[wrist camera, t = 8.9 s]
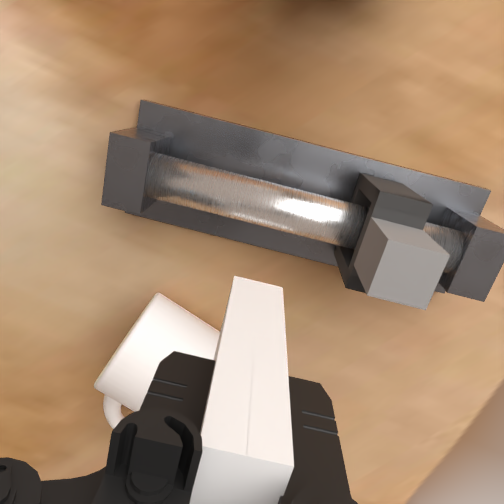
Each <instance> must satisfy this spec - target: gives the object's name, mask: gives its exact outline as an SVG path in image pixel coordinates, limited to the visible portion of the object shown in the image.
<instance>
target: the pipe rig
mask: <svg viewBox="0 0 504 504" xmlns="http://www.w3.org/2000/svg"><path fill="white" fill-rule="evenodd" d="M360 173H363V174H367V175H371V176H375V177H379V178H382V179H386V180H390V181H394V182H398V183H402V184H404V185H406V186H407V187H408V188H410V189H411V190H413V191H414V192H416V193H417V194H419V195H420V196H422V197H423V198H424V199H426V200H427V201H429V202H430V203H432V204H433V207H432V209H431V212H430V214H429V217H428V219H427V221H426V224H425V226H424V229H423V231H424V232H426V233H427V234H428V235H429V236H430V237H431V238H432V239H433V240H434V241H435V242H436V243H437V244H439V245H440V246H441V247H442V248H443V249H444V250H445V251H446V252H447V253H448V254H449V255H450V257H449V259H448V261H447V263H446V266H445V268H444V270H443V272H442V275H441V277H440V279H439V281H438V284H437V286H436V288H435V290H434V291H436V292H440V293H445V291H446V292H447V293H451V294H455V295H459V296H463V297H467V298H471V299H475V300H479V301H483V302H484V301H485V299H486V297H487V295H488V293H489V291H490V289H491V287H492V285H493V283H494V281H495V279H496V277H497V275H498V273H499V271H500V269H501V267H502V265H503V263H504V229H502V228H500V227H499V226H497V225H495V224H493V223H492V222H490V221H488V220H487V219H485V218H483V217H481V216H480V214H481V212H482V210H483V208H484V205H485V203H486V201H487V199H488V197H489V194H490V192H491V190H488V189H486V188H482V187H479V186H475V185H471V184H467V183H463V182H459V181H455V180H452V179H448V178H444V177H440V176H436V175H432V174H428V173H425V172H421V171H417V170H413V169H409V168H405V167H401V166H398V165H394V164H390V163H386V162H382V161H378V160H375V159H371V158H367V157H363V156H359V155H355V154H351V153H348V152H344V151H340V150H336V149H332V148H328V147H324V146H321V145H317V144H313V143H309V142H305V141H301V140H298V139H294V138H290V137H286V136H282V135H278V134H274V133H271V132H267V131H263V130H259V129H255V128H251V127H247V126H244V125H240V124H236V123H232V122H228V121H224V120H220V119H217V118H213V117H209V116H205V115H201V114H197V113H194V112H190V111H186V110H182V109H178V108H174V107H170V106H167V105H163V104H159V103H155V102H151V101H147V100H141V102H140V110H139V117H138V124H137V127H135V128H130V129H124V130H119V131H114V132H110V136H109V145H108V153H107V162H106V170H105V179H104V187H103V195H102V204H101V205H104V206H108V207H112V208H116V209H120V210H124V211H125V213H128V214H132V215H136V216H140V217H144V218H148V219H152V220H156V221H160V222H164V223H168V224H172V225H176V226H180V227H184V228H188V229H192V230H196V231H200V232H204V233H207V234H211V235H215V236H219V237H223V238H227V239H231V240H235V241H239V242H243V243H247V244H251V245H255V246H259V247H263V248H267V249H271V250H275V251H279V252H282V253H286V254H290V255H294V256H298V257H302V258H306V259H310V260H314V261H318V262H322V263H326V264H330V265H334V266H338V264H337V261H336V258H335V256H334V250H335V248H336V245H339V246H343V247H347V248H351V249H354V250H355V248H356V245H357V242H358V239H359V236H360V234H361V231H362V228H363V225H364V222H365V220H366V217H367V214H368V211H369V207H365V206H361V205H358V204H354V203H351V200H352V197H353V194H354V191H355V188H356V185H357V182H358V179H359V176H360Z"/></svg>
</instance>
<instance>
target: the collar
mask: <svg viewBox="0 0 504 504" xmlns="http://www.w3.org/2000/svg"><path fill="white" fill-rule="evenodd" d="M351 203H354V204H358V205H361V206H365V207H369V211H368V214H367V217H366V220H365V222H364V225H363V228H362V231H361V234H360V236H359V239H358V242H357V245H356V248H355V250H354V249H351V248H347V247H343V246H339V245H336V248H335V250H334V256H335V258H336V261H337V264H338V267H339V270H340V273H341V276H342V279H343V282H344V285H345V288H348V289H352V290H356V291H360V292H364V293H366V294H367V296H371V297H375V298H379V299H383V300H387V301H391V302H395V303H399V304H403V305H407V306H411V307H415V308H419V309H423V310H426V308H427V306H428V304H429V302H430V299H431V297H432V295H433V293H434V290H435V288H436V286H437V284H438V281H439V279H440V277H441V275H442V272H443V270H444V268H445V266H446V263H447V261H448V259H449V257H450V255H449V254H448V253H447V252H446V251H445V250H444V249H443V248H442V247H441V246H440V245H439V244H437V243H436V242H435V241H434V240H433V239H432V238H431V237H430V236H429V235H428V234H427V233H426V232H424V231H423V229H424V226H425V224H426V221H427V219H428V217H429V214H430V212H431V209H432V207H433V204H432V203H430V202H429V201H427V200H426V199H424V198H423V197H422V196H420V195H419V194H417V193H416V192H414V191H413V190H411V189H410V188H408V187H407V186H406V185H404V184H402V183H398V182H394V181H390V180H386V179H382V178H379V177H375V176H371V175H367V174H363V173H360V176H359V179H358V182H357V185H356V188H355V191H354V194H353V197H352V200H351Z"/></svg>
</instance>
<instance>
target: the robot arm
mask: <svg viewBox="0 0 504 504" xmlns="http://www.w3.org/2000/svg"><path fill="white" fill-rule="evenodd" d="M334 419H335V416H334V411H333V406H332V401H331V399H330V397H329V396H328V394H327V393H326V392H325V390H324V389H323V387H322V386H321V384H320V383H316V382H312V381H308V380H303V379H299V378H295V377H290V376H288V363H287V347H286V331H285V315H284V300H283V287H279V286H275V285H271V284H267V283H262V282H258V281H254V280H250V279H246V278H242V277H238V276H234V279H233V283H232V287H231V291H230V295H229V299H228V303H227V307H226V311H225V315H224V319H223V323H222V327H221V331H220V335H219V339H218V343H217V347H216V351H215V355H214V360H211V359H207V358H202V357H198V356H194V355H189V354H185V353H181V352H177V351H173V352H172V353H171V354H170V355H168V356H167V357H166V358H164V359H163V360H162V361H160V363H159V365H158V368H157V370H156V372H155V375H154V377H153V380H152V382H151V384H150V386H149V389H148V391H147V394H146V396H145V398H144V400H143V403H142V405H141V407H140V410H139V411H135V412H134V413H132V414H130V415H128V416H127V417H125V418H123V419H121V421H120V422H119V423H118V424H117V426H116V427H115V428H114V429H113V431H112V434H111V440H110V446H109V453H108V459H107V465H106V467H104V468H103V469H101V470H99V471H97V472H95V473H92V474H89V475H87V476H83V477H78V478H72V479H61V480H49V481H41V480H40V478H39V475H38V472H37V471H36V470H35V469H33V468H32V467H31V466H30V465H28V464H27V463H26V462H24V461H20V460H16V459H12V458H0V504H358V503H357V502H356V501H354V500H353V499H352V498H351V494H350V490H349V485H348V480H347V475H346V470H345V465H344V460H343V455H342V450H341V445H340V440H339V436H337V434H338V430H337V425H336V421H334Z"/></svg>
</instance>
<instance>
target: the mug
mask: <svg viewBox="0 0 504 504" xmlns="http://www.w3.org/2000/svg"><path fill="white" fill-rule="evenodd" d="M219 335H220V331H218V330H217V329H215V328H213V327H212V326H210V325H209V324H207V323H206V322H204V321H203V320H201V319H200V318H198V317H196V316H195V315H193V314H192V313H190V312H189V311H187V310H186V309H184V308H183V307H181V306H179V305H178V304H176V303H175V302H173V301H172V300H170V299H169V298H167V297H166V296H164V295H162V294H161V293H156V294H155V295H154V296H153V298H152V299H151V300H150V302H149V303H148V305H147V306H146V307H145V309H144V310H143V312H142V313H141V315H140V316H139V317H138V319H137V320H136V322H135V323H134V325H133V326H132V328H131V329H130V330H129V332H128V333H127V335H126V336H125V338H124V339H123V341H122V342H121V344H120V345H119V347H118V348H117V350H116V351H115V352H114V354H113V355H112V357H111V358H110V360H109V361H108V363H107V364H106V366H105V367H104V369H103V370H102V372H101V373H100V375H99V377H98V378H97V380H96V381H95V383H94V388H95V389H97V390H98V391H100V392H102V393H103V394H105V396H104V401H103V409H104V414H105V417H106V419H107V421H108V423H109V424H110V426H111V427H112V428H113V429H114V428H115V427H116V426H117V424H118V423H119V422H120V421H121V419H123V418H125V417H124V416H123V415H122V413H121V405H124V406H125V407H127V408H129V409H131V410H132V411H134V412H135V411H139V410H140V407H141V405H142V403H143V400H144V398H145V396H146V394H147V391H148V389H149V386H150V384H151V382H152V380H153V377H154V375H155V372H156V370H157V368H158V365H159V363H160V361H162V360H163V359H164V358H166V357H167V356H168V355H170V354H171V353H172V352H173V351H177V352H181V353H185V354H189V355H194V356H198V357H202V358H207V359H211V360H214V355H215V351H216V347H217V343H218V339H219Z"/></svg>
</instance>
